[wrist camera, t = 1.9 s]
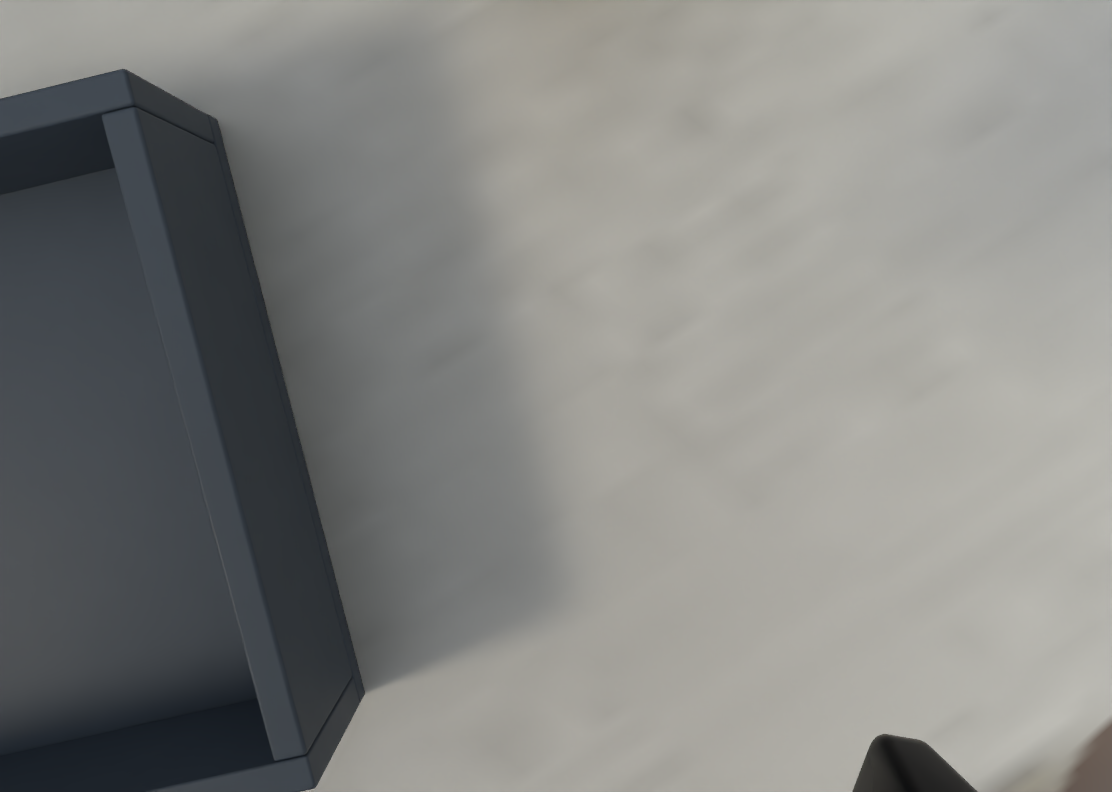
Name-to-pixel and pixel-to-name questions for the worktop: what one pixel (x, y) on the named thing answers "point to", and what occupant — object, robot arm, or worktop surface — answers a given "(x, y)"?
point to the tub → (150, 470)
